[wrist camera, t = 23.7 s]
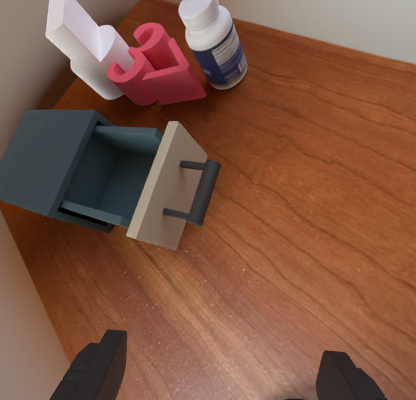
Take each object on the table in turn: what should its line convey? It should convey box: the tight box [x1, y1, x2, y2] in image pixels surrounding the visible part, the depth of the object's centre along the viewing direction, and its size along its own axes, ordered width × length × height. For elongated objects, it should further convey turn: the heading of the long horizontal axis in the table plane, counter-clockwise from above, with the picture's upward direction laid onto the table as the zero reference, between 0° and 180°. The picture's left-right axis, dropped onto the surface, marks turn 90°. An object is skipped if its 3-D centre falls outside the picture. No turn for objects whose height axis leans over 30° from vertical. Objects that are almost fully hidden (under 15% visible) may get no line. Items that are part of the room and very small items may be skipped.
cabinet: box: [0, 110, 116, 233], centre depth 34 cm, size 15×13×9 cm
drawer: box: [59, 121, 221, 250], centre depth 27 cm, size 18×11×7 cm, turn 71°
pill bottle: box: [179, 0, 247, 90], centre depth 29 cm, size 5×5×10 cm
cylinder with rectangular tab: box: [46, 0, 134, 100], centre depth 38 cm, size 9×9×12 cm
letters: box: [106, 23, 207, 106], centre depth 35 cm, size 14×10×5 cm
